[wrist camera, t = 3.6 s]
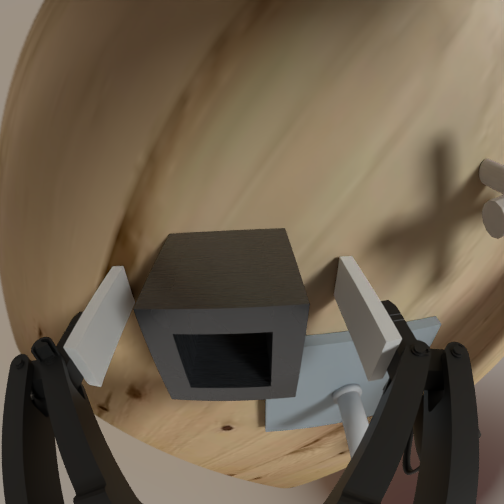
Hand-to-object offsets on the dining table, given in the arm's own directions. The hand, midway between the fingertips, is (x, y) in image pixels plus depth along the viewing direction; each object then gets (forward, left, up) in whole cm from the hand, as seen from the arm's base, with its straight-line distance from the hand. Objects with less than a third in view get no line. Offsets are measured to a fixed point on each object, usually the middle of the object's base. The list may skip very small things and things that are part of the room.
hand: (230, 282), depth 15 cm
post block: (+12, +9, 0) cm, 15 cm away
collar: (0, 0, 0) cm, 0 cm away
